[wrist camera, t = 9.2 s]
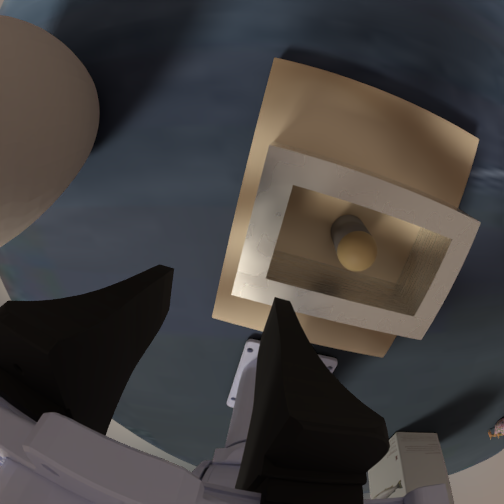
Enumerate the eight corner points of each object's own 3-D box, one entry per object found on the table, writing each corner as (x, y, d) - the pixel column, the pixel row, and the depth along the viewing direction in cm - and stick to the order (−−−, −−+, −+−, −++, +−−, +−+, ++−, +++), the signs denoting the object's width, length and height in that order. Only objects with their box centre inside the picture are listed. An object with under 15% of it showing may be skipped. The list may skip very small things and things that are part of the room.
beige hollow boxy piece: (403, 305, 20) (421, 340, 16) (242, 262, 20) (231, 294, 16) (449, 203, 16) (480, 222, 13) (274, 141, 17) (269, 144, 13)
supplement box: (395, 430, 28) (411, 520, 16) (437, 431, 28) (457, 510, 16) (364, 458, 31) (370, 538, 20) (405, 459, 31) (417, 531, 20)
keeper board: (379, 345, 23) (393, 394, 18) (216, 306, 23) (197, 354, 18) (468, 137, 16) (516, 146, 11) (275, 62, 16) (269, 37, 11)
